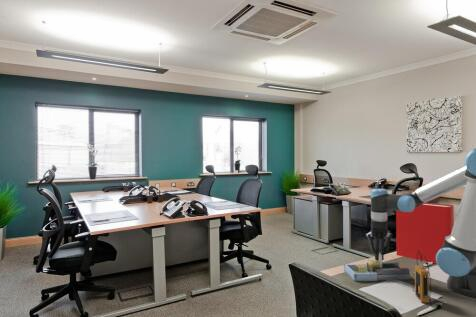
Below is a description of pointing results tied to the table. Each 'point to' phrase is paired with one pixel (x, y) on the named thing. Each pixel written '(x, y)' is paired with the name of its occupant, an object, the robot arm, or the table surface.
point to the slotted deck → (390, 276)
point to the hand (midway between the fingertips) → (379, 266)
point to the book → (423, 230)
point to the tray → (359, 276)
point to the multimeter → (422, 283)
